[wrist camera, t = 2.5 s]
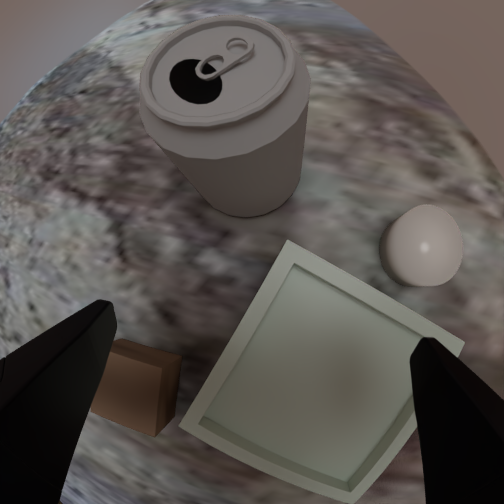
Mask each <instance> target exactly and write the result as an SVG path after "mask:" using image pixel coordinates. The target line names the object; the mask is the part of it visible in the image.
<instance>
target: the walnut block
mask: <svg viewBox="0 0 504 504" xmlns="http://www.w3.org/2000/svg"><path fill="white" fill-rule="evenodd" d="M181 362H182V356H181V355H177V354H173V353H169V352H166V351H162V350H158V349H155V348H151V347H148V346H145V345H141V344H138V343H135V342H131V341H128V340H125V339H118V340H114V341H113V343H112V346H111V350H110V353H109V356H108V360H107V363H106V367H105V370H104V373H103V376H102V379H101V381H100V384H99V386H98V389H97V391H96V394H95V396H94V399H93V401H92V404H91V412H93V413H95V414H97V415H99V416H102V417H104V418H106V419H109V420H111V421H113V422H116V423H118V424H121V425H123V426H126V427H128V428H131V429H133V430H136V431H139V432H141V433H144V434H147V435H150V436H153V437H156V436H157V435H158V433H159V432H160V431H161V430H162V429H163V428H164V427H165V426H166V425H167V424H168V423H169V422H170V421H171V420H172V419H173V418H174V416H175V408H176V399H177V392H178V384H179V377H180V369H181Z"/></svg>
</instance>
